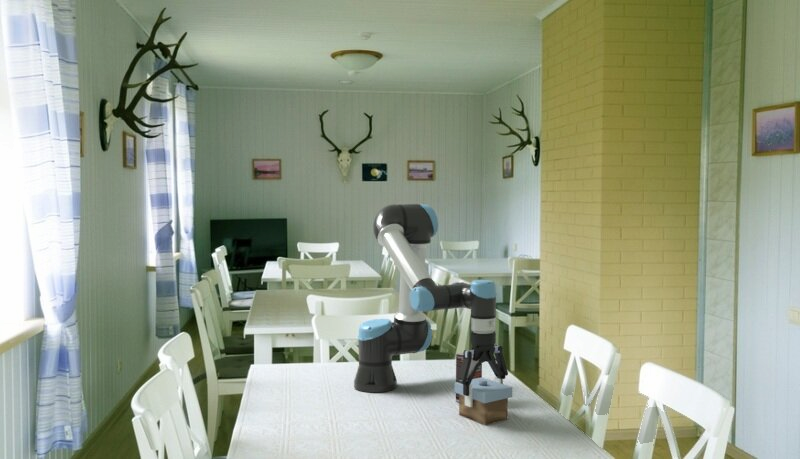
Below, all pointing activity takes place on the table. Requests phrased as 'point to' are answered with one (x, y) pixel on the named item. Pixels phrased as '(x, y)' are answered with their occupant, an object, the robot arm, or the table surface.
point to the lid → (486, 390)
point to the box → (484, 410)
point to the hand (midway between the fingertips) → (483, 402)
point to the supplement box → (458, 366)
